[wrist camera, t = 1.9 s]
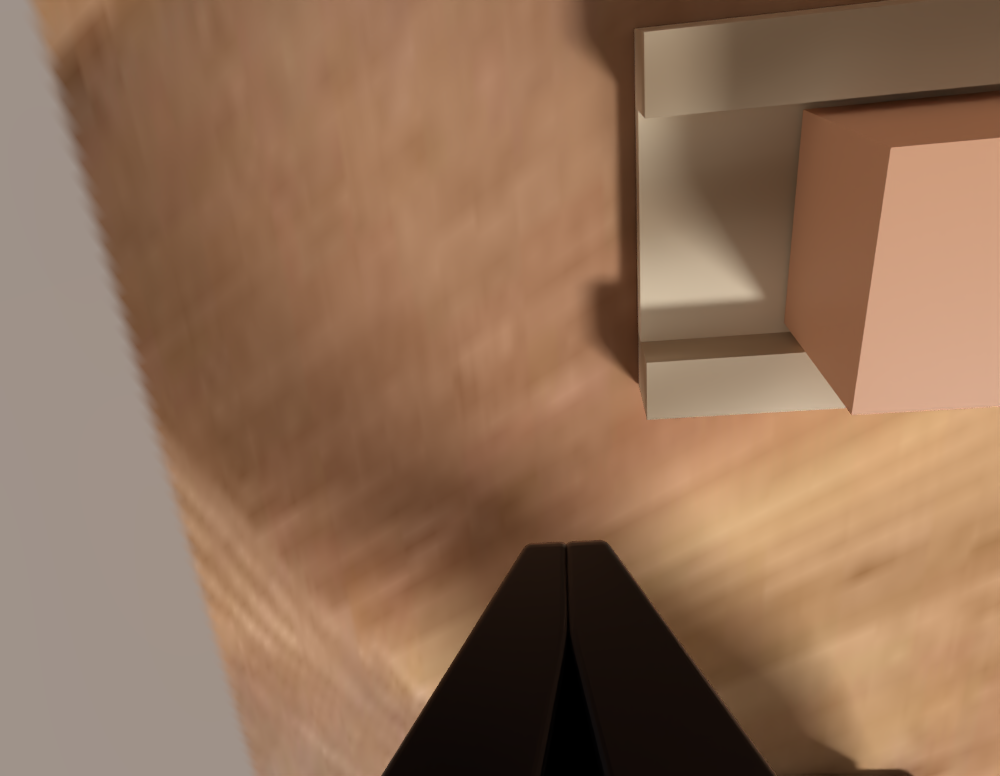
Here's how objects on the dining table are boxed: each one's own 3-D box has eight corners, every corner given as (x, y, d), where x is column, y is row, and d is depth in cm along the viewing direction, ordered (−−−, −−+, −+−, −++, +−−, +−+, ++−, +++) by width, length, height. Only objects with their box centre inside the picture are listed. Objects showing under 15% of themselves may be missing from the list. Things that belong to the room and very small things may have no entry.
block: (998, 307, 17) (1130, 399, 13) (783, 323, 18) (851, 414, 14) (1050, 85, 15) (1229, 116, 11) (802, 109, 16) (890, 147, 12)
